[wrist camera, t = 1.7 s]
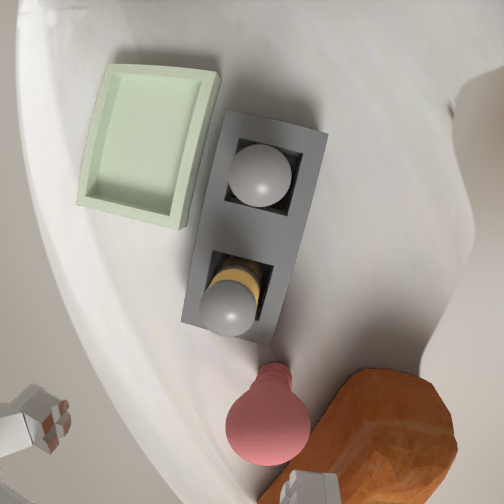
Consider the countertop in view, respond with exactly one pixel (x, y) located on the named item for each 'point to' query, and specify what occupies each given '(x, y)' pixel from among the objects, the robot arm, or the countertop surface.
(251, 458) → the light bulb
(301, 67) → the countertop surface
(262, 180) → the ball
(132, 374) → the countertop surface
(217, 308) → the cylinder
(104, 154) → the tray
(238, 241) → the fuse holder
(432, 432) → the bread
